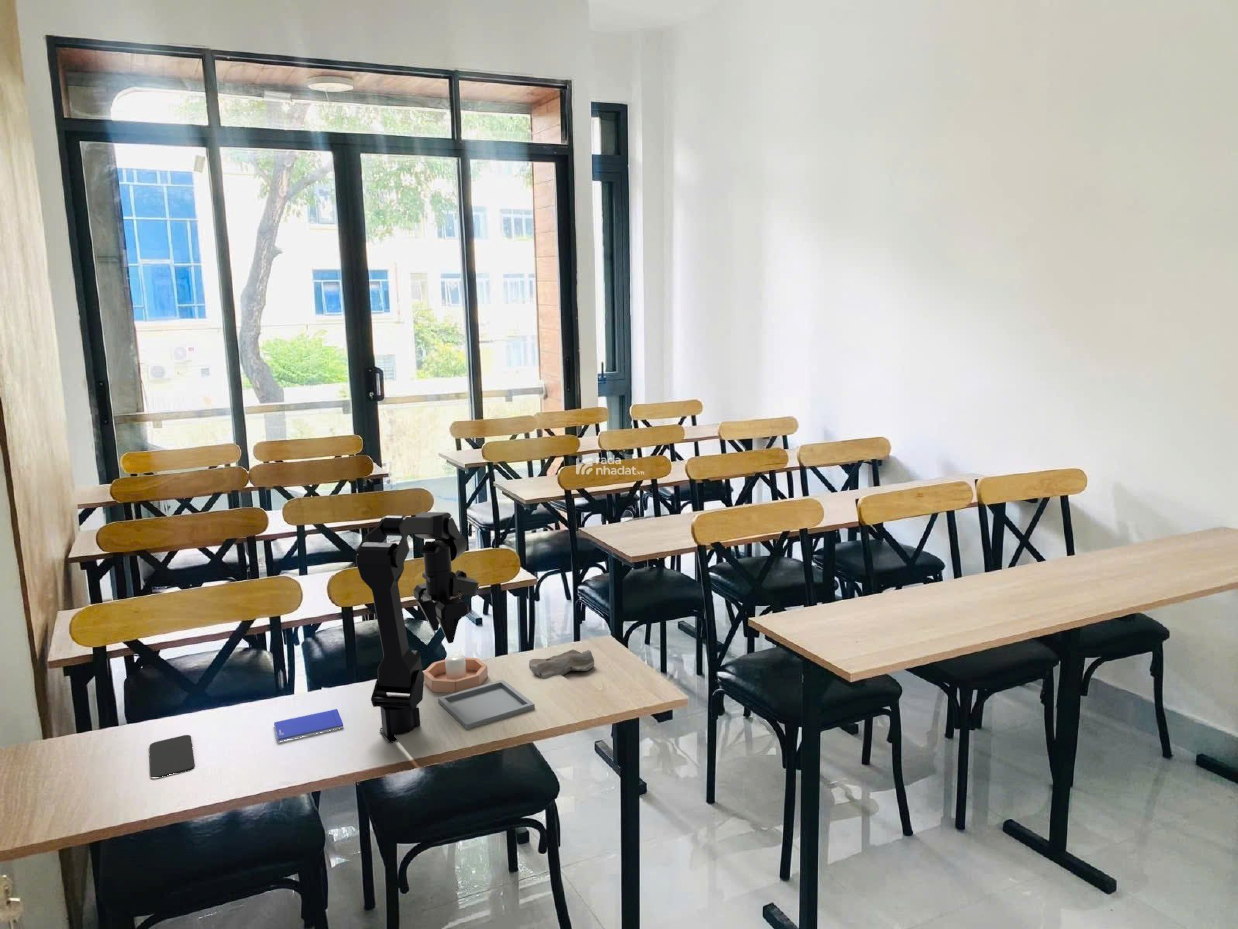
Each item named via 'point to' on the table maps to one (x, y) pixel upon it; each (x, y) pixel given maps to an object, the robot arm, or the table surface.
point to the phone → (171, 756)
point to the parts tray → (485, 704)
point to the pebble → (455, 667)
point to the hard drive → (308, 725)
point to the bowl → (474, 678)
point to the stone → (562, 663)
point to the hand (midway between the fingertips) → (443, 636)
